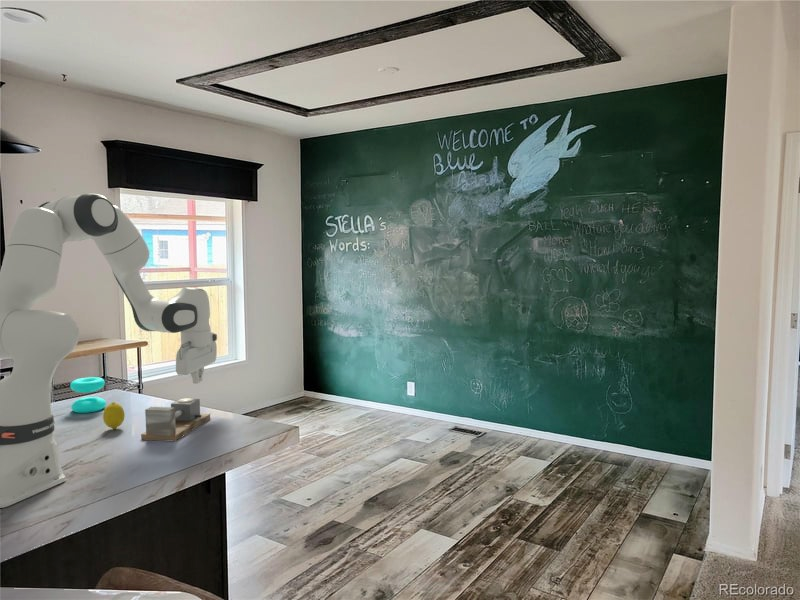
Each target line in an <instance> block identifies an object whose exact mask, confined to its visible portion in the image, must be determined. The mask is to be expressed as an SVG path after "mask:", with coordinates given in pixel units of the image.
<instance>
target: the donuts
mask: <svg viewBox="0 0 800 600" xmlns="http://www.w3.org/2000/svg"><path fill="white" fill-rule="evenodd" d="M105 384H106V382H105V379H104V378H102V377H98V376H97V377H96V376H88V377H81V378H77V379H74V380H73V381H71V382H70V384H69V385H70V390H72V391H73V392H76V393H92V392H97V391H100V390H101V389H102V388H104V387H105ZM70 407H71V410H72V411H73V412H75V413H77V414H89V413H94V412H99V411H101V410H103V409H105V408H106V407H107V402H106V400H105V399H104V398H102V397H98V396H88V397H87V396H86V397H81V398H79V399H76V400H74V401H73V402H72V404H71V405H70Z"/></svg>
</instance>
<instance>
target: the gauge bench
mask: <svg viewBox="0 0 800 600" xmlns="http://www.w3.org/2000/svg"><path fill="white" fill-rule="evenodd" d="M144 413H145V431H144V432H142V433H141V436H140V437H141V438H140V440H141V439H144V440H143V441H145V440H146V441H161V440H173V441H172V442H177V441H178V440H179V438H180V437H181V438H182V436H183V435H184V436H186V435H187V434H189V433H190V432H192V431H193V430H192V429H194V428H195V429H196V427H197V426H198V427H200V426H201V425H203V424H205V423H206V422H208V421H209V420H210V419H211V413H200V415H202V417H201V418H199V417H196V418H195V419H193V420H191V421H180V420H175V408H172V407H171V406H169V407H167V406H164V407H163V406H150V407H148V408H145V410H144ZM207 420H208V421H207ZM202 423H203V424H202ZM199 425H200V426H199ZM198 427H197V428H198ZM195 429H194V430H195ZM191 430H192V431H191ZM189 431H190V432H189ZM188 432H189V433H188ZM186 433H187V434H186ZM185 434H186V435H185ZM184 436H183V437H184ZM181 438H180V439H181ZM177 439H178V440H177Z"/></svg>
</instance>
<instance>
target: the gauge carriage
mask: <svg viewBox="0 0 800 600" xmlns="http://www.w3.org/2000/svg"><path fill="white" fill-rule="evenodd" d="M200 400H201V399H200V398H189V397H188V398H187V397H186V398H179V399H178V400H175V401H173V402H172V403H170V407H172V408H175V420H180V421H191V420H193V419H195V418H196V417H199V418H201V417H202V415H200V414H201V402H200Z"/></svg>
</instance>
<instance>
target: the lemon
mask: <svg viewBox="0 0 800 600" xmlns="http://www.w3.org/2000/svg"><path fill="white" fill-rule="evenodd" d="M102 417H103V422H104V424H105V425H106V426H107V427H108V428H111V429H113V430H117V428H118V427H120V426H121V425H122V424H123V422H124V420H125V411H124V408H123V407H122V405H120V404H119V403H116V402H114V401H113V402H111V403H110V404H108V405H106V406H105V407H104V411H103V414H102Z"/></svg>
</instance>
